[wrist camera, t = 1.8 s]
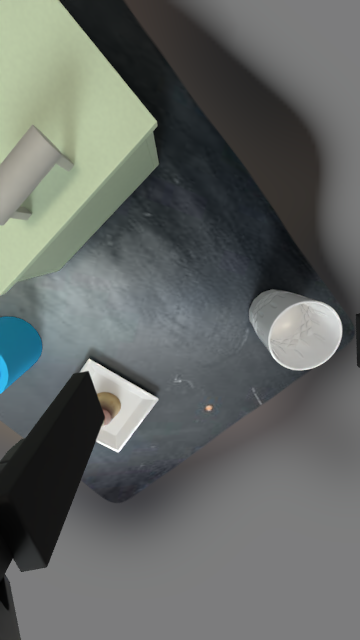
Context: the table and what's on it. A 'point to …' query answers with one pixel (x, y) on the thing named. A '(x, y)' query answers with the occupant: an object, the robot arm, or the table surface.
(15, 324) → the mug
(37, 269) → the chest
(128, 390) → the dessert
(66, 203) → the chest lid
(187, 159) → the table surface
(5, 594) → the robot arm
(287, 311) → the white cup
